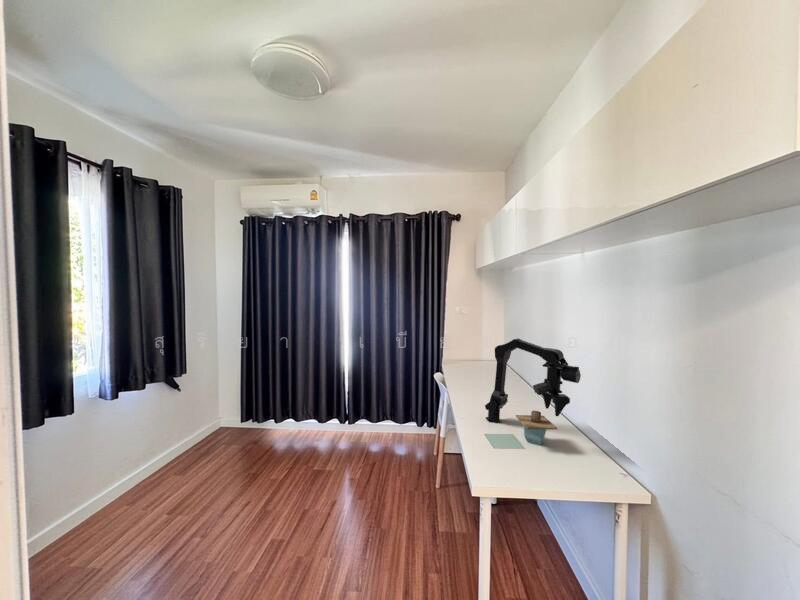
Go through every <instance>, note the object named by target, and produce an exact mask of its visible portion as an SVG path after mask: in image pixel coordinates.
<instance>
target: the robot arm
mask: <svg viewBox="0 0 800 600" xmlns="http://www.w3.org/2000/svg"><path fill="white" fill-rule="evenodd" d="M517 349H519V350H522V351H523V352H527V353H530V354H533V355H536V356H538V357H540V358H541V359H543V360H544V361H545V363H543V364H542V365H541V366H542V367H543V368H544V367H545V368H547V369H546V378H544V380H543V382H539V383H536V384H534V385H532V387H533V391H534V393H535V394H536V395H537V396H542V398H543V401H544V407H545V409H547V410H549V408H550V406H551V402H552V404H553V405H554V415H555V417H559V416H560V414H561V413H562V411H563V410H564V408H565V407H566V405H569V404H570V403H571V398H570V397H569V396H567V394H564V393H563V391H562V389H561V385H563V381H566V382H570V383H575V384H579V383H580V381H581V375H582V374H581V372H580V371H581V370H580V367H579V366H576V365H575V366H573V365H569V363H568V362H567V360H566V358H565V356H564V353H563V351H562V350H560V349H557V348H552V347H551V348H549V347H543V346H540V345H538V344H534V343H532V342H529V341H526V340H522V339H520V338H514V339H512V340H510V341H508V342H506V343H503V344H499V345H497V346H495V347H494V357H495V358H494V359H495V360H496V370H495V381H494V390H493V391H492V393H491V396H490V399H489V402H488V403H486V404H485V405H484V407H485V410H487V416H486V417H485V419H486V421H487V422H488V423H493V424H494V423H497V424H498V423H501V424H502V420H501V419H500V414H501V409H503V407H504V406H505V405H506V404H507V403H508V398H509V395H508V394H509V393H506V391H505V385H506V375H507V365H508V362H509V359H511V355H512V352H513V351H514V350H517ZM562 380H563V381H562Z"/></svg>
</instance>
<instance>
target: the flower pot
mask: <svg viewBox="0 0 800 600" xmlns="http://www.w3.org/2000/svg"><path fill="white" fill-rule="evenodd" d="M546 432H547V429H527V428H526V427H525V426H524V425H523V433H524V434H523V436H524V438H525V440H526V442H527V443H530V444H534V445H536V446H540V445H541V444H542V443H543V440H544V439H545V437H546Z"/></svg>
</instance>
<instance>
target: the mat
mask: <svg viewBox="0 0 800 600" xmlns="http://www.w3.org/2000/svg"><path fill="white" fill-rule="evenodd" d="M483 435H484V437H485V438H486V440H487V441H488V443H489V444H490V446H491V447H492V449H495V450H497V449H500V450H508V449H509V450H513V449H514V450H526V447H525V446H524V445H523V444H522V442H521V441H520V440H519V438H517V436H515V434H514V433H483Z"/></svg>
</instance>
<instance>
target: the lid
mask: <svg viewBox="0 0 800 600" xmlns="http://www.w3.org/2000/svg"><path fill="white" fill-rule="evenodd" d="M515 418H516V419H517V420H518V421H519V422H520V423H521V424H522V425H523V427H524V426H525V427H526V428H527V429H546V430H558V427H557V426H556V425H555V424H554V423H553V422H552V421H550V419H548V418H547V417H545V416H544V415H542V412H541V411H539V410H531V414H529V415H528V414H527V415H526V414H524V415H523V414H516V415H515Z"/></svg>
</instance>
